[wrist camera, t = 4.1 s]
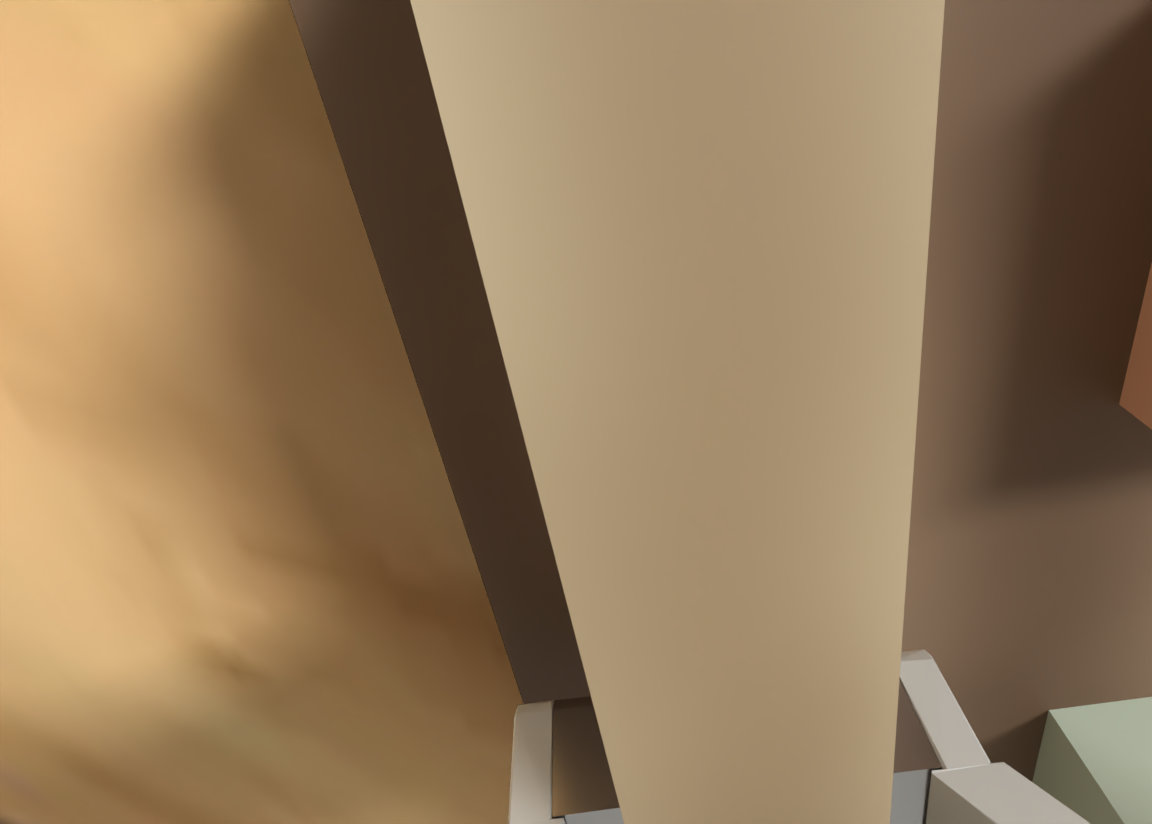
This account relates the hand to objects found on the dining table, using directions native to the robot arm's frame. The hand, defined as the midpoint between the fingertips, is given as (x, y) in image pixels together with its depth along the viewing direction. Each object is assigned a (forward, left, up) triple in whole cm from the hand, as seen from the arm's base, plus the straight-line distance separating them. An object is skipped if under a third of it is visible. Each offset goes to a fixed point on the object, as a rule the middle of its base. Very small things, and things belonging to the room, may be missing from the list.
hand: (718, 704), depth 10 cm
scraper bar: (0, 0, -1) cm, 1 cm away
